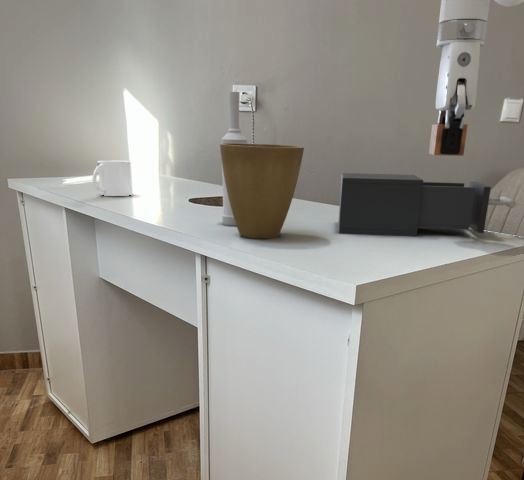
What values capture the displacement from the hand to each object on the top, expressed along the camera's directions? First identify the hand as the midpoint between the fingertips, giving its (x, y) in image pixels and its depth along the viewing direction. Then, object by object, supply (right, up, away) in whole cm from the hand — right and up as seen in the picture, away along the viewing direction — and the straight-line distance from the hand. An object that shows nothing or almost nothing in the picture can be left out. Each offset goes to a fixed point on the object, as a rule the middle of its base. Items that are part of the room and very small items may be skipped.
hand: (446, 152), depth 98 cm
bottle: (-38, -9, +18) cm, 43 cm away
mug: (-76, +9, +62) cm, 98 cm away
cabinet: (-10, -10, +15) cm, 20 cm away
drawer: (+6, -10, +13) cm, 17 cm away
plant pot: (-33, -14, +6) cm, 36 cm away
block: (0, 0, 0) cm, 0 cm away
